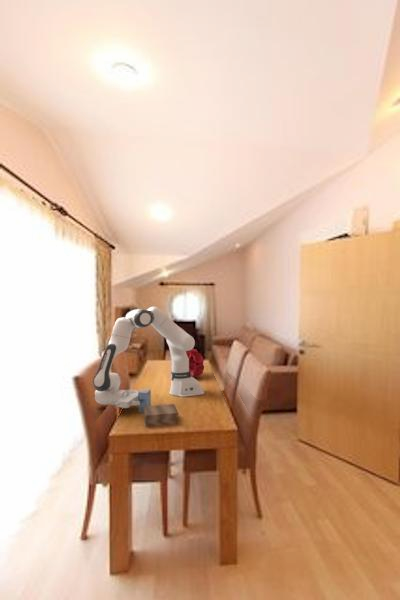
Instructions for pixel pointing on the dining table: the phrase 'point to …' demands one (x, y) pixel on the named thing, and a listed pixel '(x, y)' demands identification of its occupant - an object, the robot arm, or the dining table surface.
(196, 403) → the dining table surface
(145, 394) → the slate tin
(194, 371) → the bouquet
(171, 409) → the walnut box
